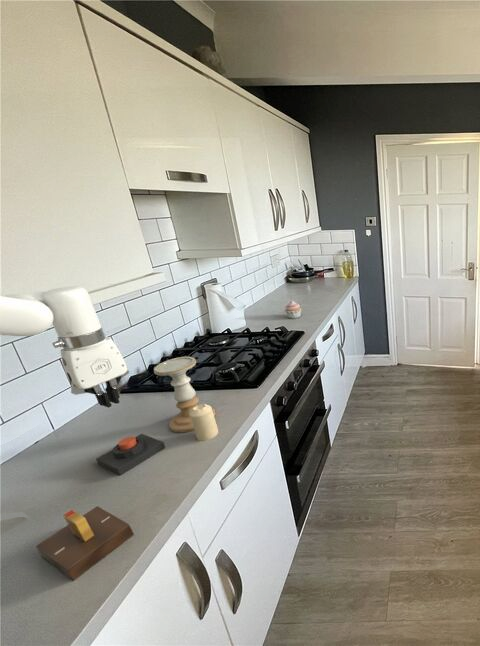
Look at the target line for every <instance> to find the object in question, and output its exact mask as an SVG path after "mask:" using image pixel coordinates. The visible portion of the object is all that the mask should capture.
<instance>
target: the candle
mask: <svg viewBox="0 0 480 646" xmlns="http://www.w3.org/2000/svg"><path fill="white" fill-rule="evenodd" d="M212 408H213V407H212V406H211V405H209V404H206V403H201V404H198V406H197V407H195V408H193V409H192V410H191V412H190V413H189V415H190V418H191V421H192V424H193V427H194V430H193V431H194V433H195V436H196V437H195V438H196V439H197V440H198V441H200V442H205V441H209V440H211V439H213V438H215V437H216V436H217V435H218V434H219V429H218V424H217V422H216V416H215V417H214V414H213V411H212Z"/></svg>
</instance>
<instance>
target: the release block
mask: <svg viewBox="0 0 480 646" xmlns="http://www.w3.org/2000/svg"><path fill="white" fill-rule="evenodd" d="M134 437H135V439H136V441H137V444H136V445H135V446H133V447H132V448H129V449H126V450H120V448H119V445H118V443H117V444H116V445H115V446H114V447H113V448H112V449H111V450H109V451H107V452H105V453H104V454H102V455H100V456H98V457H97V458H95V461H96V462H97V464H98V466H100V467H102V468H104V469H106V470H108V471H110V472H112V473H114V474H116V475H118V476H119V477H120V476H122V475H124V474H126V473H127V472H129V471H131V470H132V469H134V468H135V467H137V466H139V465H140V464H142V463H144V462H146V461H147V460H148V459H150V458H152V457H154V456H155V455H156V454H158V453H160V452H162V451H163V450H165V449H166V446H165V444H164V442H163V440H159V439H157V438H154V437H152V436H149V435H147V434H144V433H140V434H138V435H136V436H134Z"/></svg>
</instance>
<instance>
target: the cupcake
mask: <svg viewBox="0 0 480 646" xmlns="http://www.w3.org/2000/svg"><path fill="white" fill-rule="evenodd" d="M302 309H303V308H302V307H301V306H300V304H299V303H297V302H296V301H294V300H290V302H289V303H287V305H286V306H285V310H284V311H285V313H286V314H287V315H286V316H287V317H288V319H290V320H295V319H298V318H300V317H301V314H302Z"/></svg>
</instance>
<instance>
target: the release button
mask: <svg viewBox="0 0 480 646" xmlns="http://www.w3.org/2000/svg"><path fill="white" fill-rule="evenodd" d="M135 437H136V436H133V435H131V436H130V435H129V436H127V437H124V438H122V439H121V440H119V441H118V442H117V444H118V445H119V448H120V450H126V449H129V448H132V447H133V446H135V445H136V444H137V441H136V439H135Z"/></svg>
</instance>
